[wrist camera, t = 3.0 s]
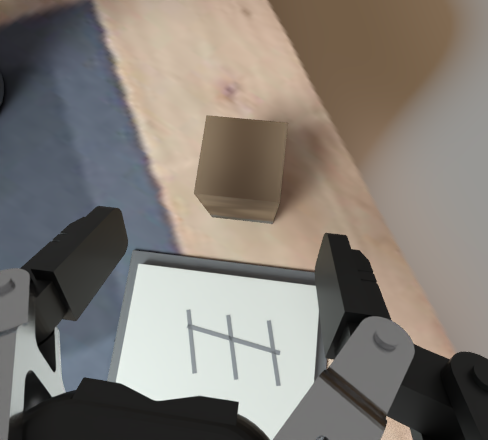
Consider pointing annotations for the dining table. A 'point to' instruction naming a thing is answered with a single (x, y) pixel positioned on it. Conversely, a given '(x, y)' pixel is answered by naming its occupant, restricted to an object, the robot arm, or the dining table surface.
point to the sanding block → (241, 168)
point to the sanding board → (219, 334)
